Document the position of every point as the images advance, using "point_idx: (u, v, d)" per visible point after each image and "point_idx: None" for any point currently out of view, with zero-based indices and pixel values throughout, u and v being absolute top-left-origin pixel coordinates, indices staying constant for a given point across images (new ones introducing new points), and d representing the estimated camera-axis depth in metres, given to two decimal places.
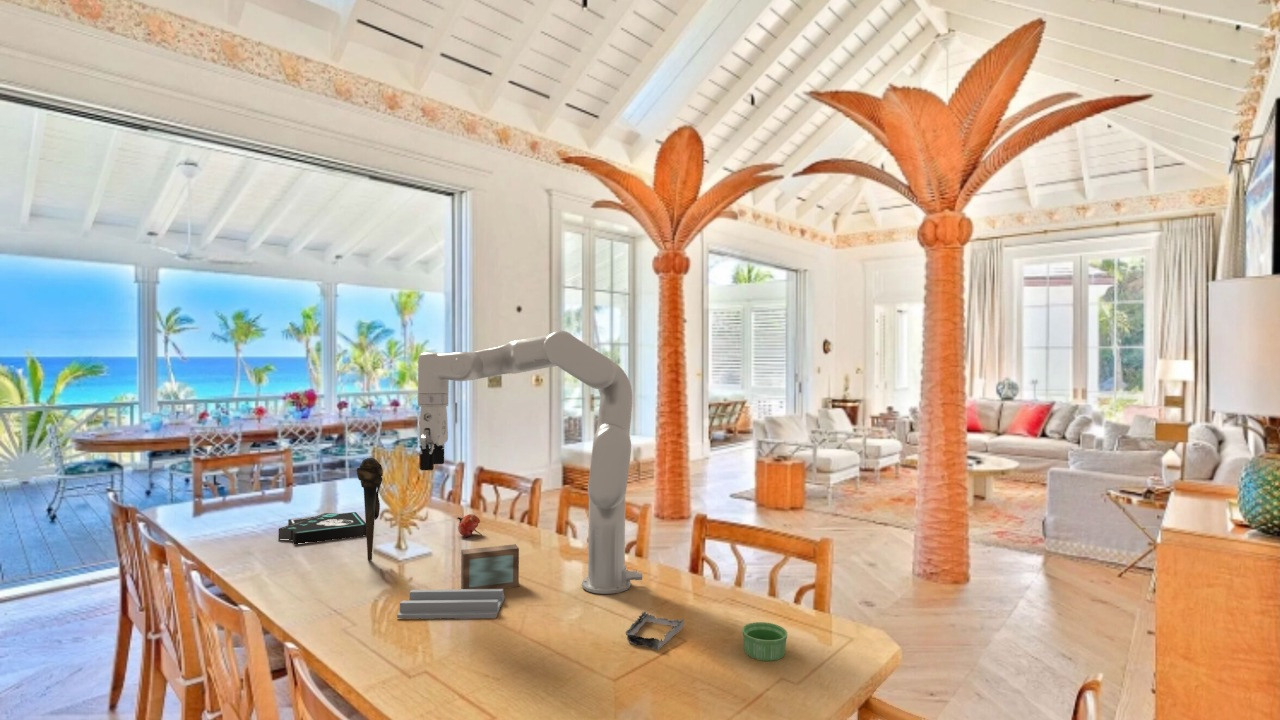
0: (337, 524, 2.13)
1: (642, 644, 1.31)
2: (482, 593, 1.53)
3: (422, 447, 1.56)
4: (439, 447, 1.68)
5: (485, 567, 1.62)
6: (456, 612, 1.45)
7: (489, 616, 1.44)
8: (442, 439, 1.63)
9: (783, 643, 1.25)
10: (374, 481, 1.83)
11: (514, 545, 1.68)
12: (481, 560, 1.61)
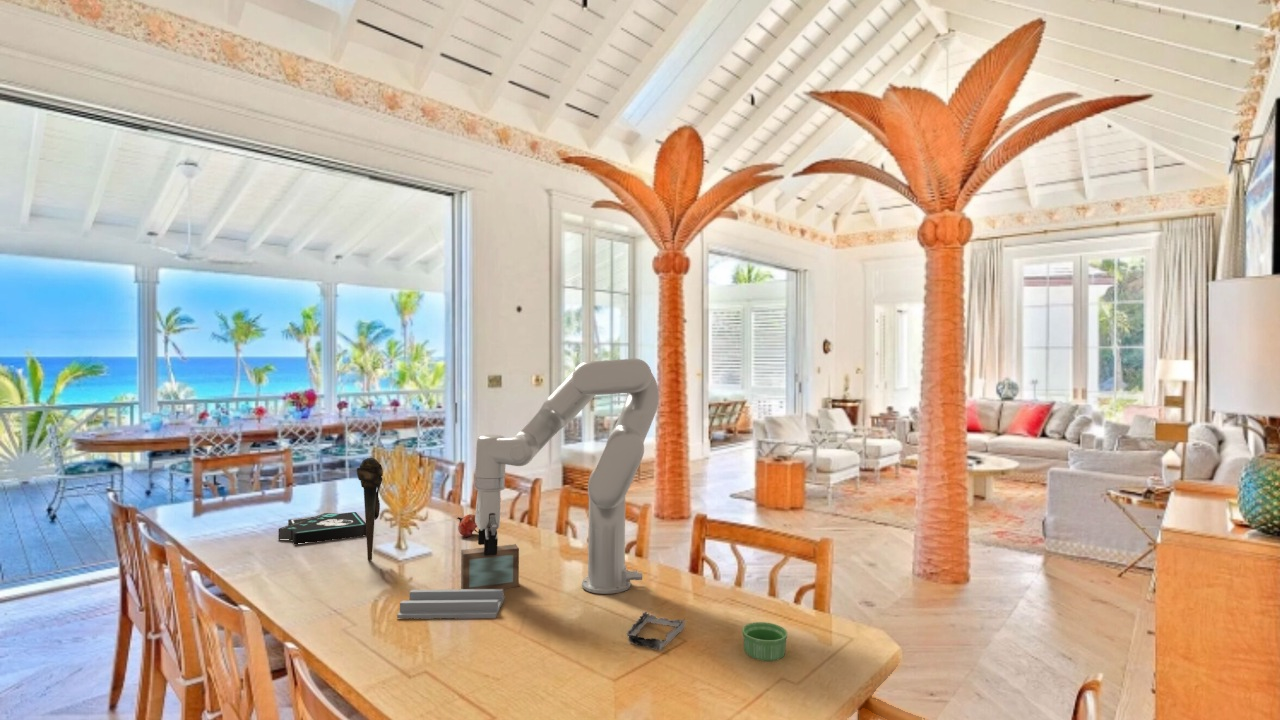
0: (337, 524, 2.13)
1: (643, 645, 1.31)
2: (482, 593, 1.53)
3: None
4: None
5: (485, 567, 1.62)
6: (456, 612, 1.45)
7: (489, 616, 1.44)
8: (476, 520, 1.64)
9: (783, 643, 1.25)
10: (374, 481, 1.83)
11: (514, 545, 1.68)
12: (481, 560, 1.61)
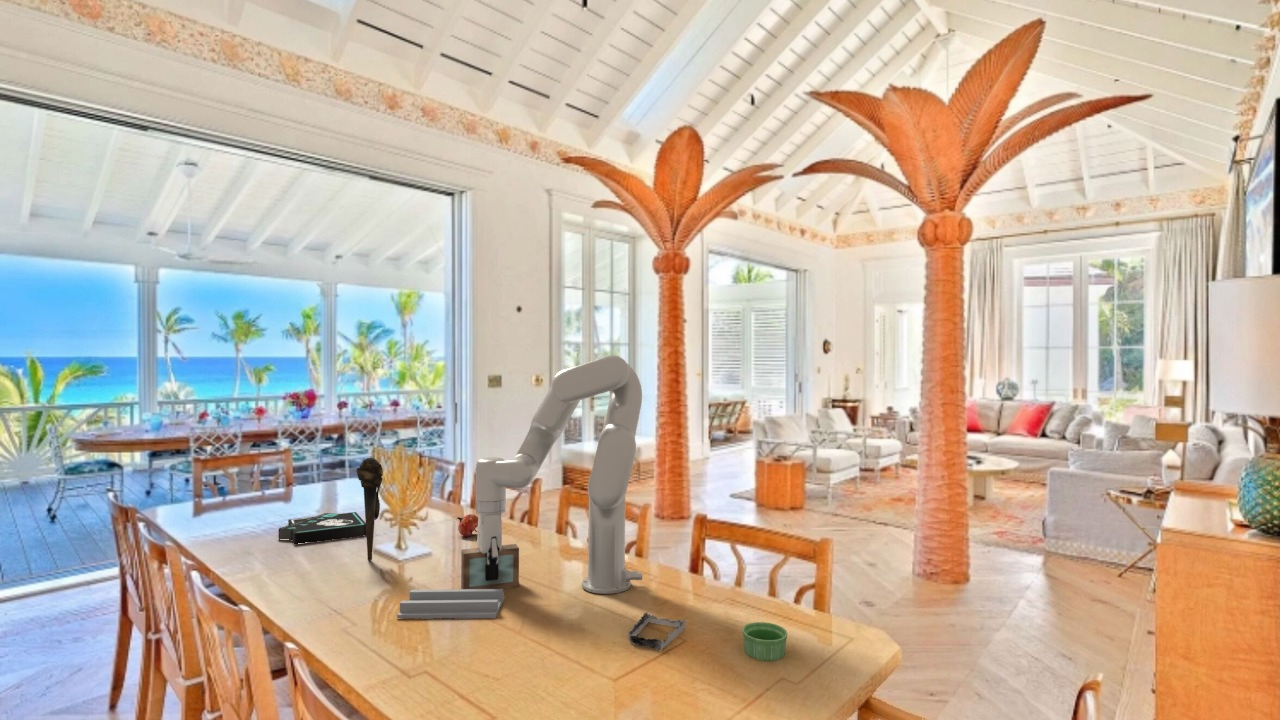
0: (337, 524, 2.13)
1: (645, 645, 1.30)
2: (482, 593, 1.53)
3: None
4: None
5: None
6: (456, 612, 1.45)
7: (489, 616, 1.44)
8: (478, 544, 1.64)
9: (783, 643, 1.25)
10: (374, 481, 1.83)
11: (514, 544, 1.68)
12: (481, 560, 1.61)
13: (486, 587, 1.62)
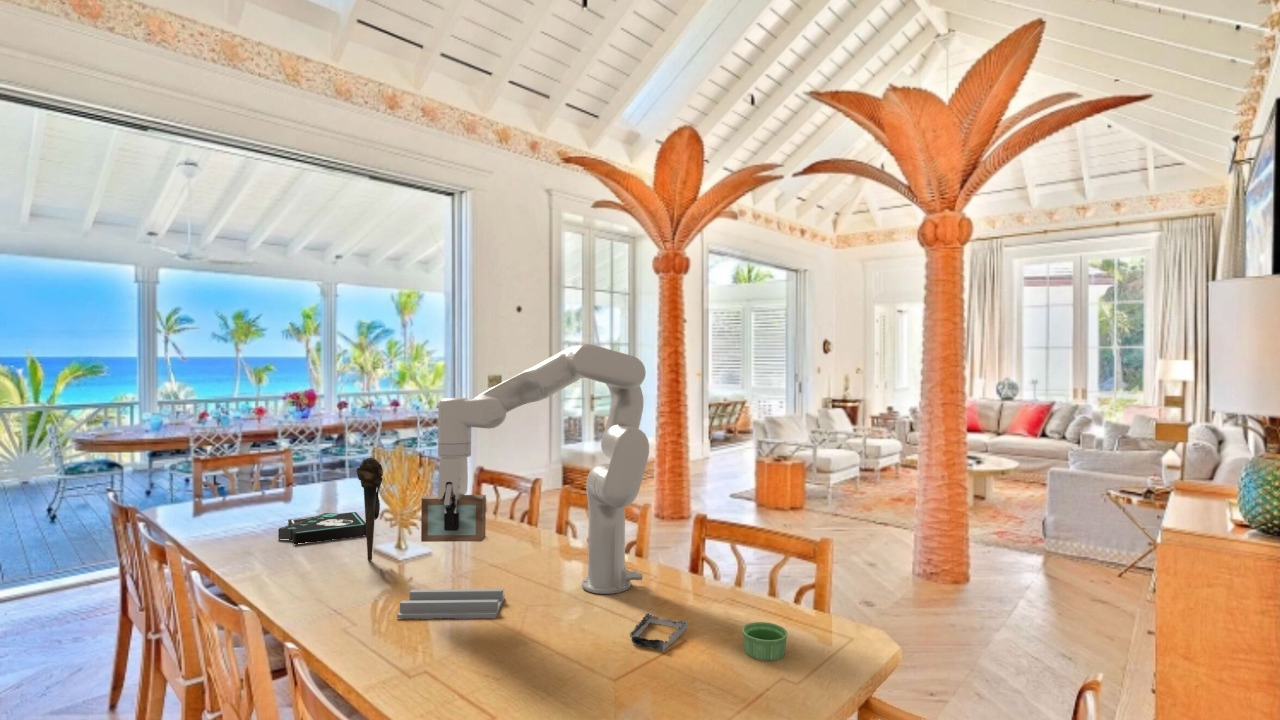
0: (337, 524, 2.13)
1: (647, 646, 1.30)
2: (482, 593, 1.53)
3: None
4: None
5: None
6: (456, 612, 1.45)
7: (489, 616, 1.44)
8: None
9: (783, 643, 1.25)
10: (374, 481, 1.83)
11: (482, 495, 1.52)
12: (440, 507, 1.48)
13: (446, 538, 1.48)
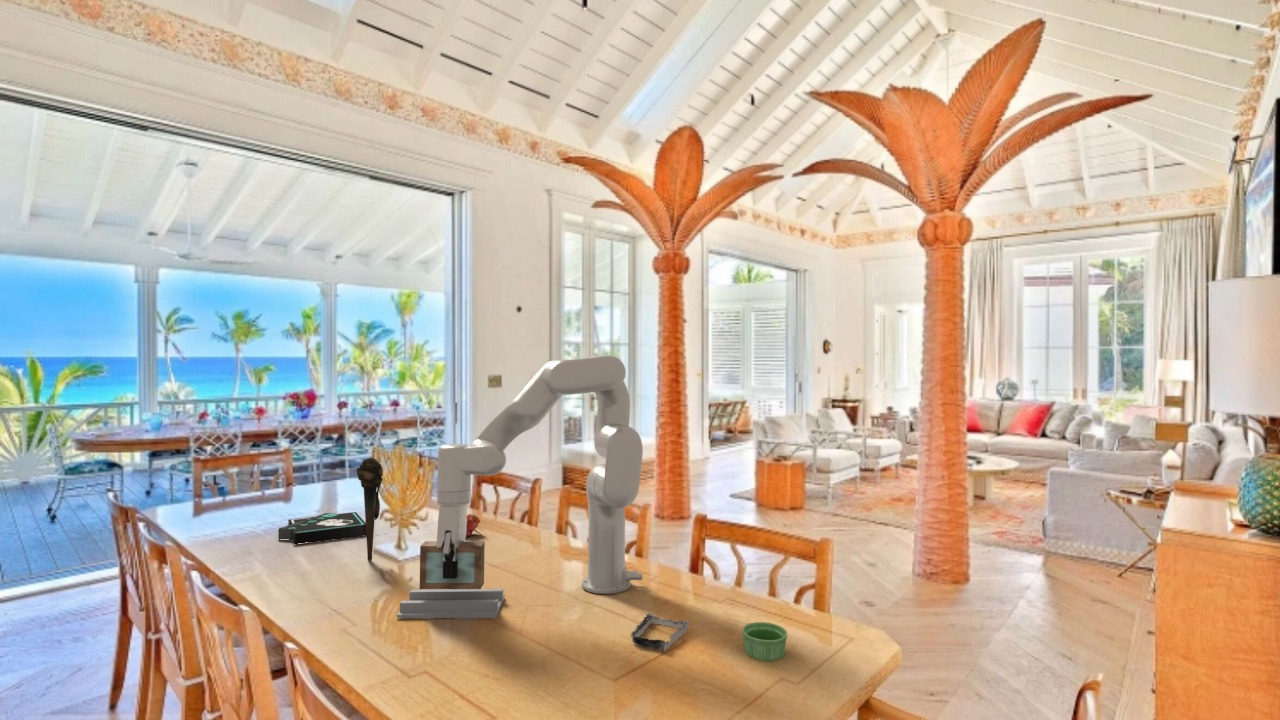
0: (337, 524, 2.13)
1: (648, 646, 1.30)
2: (482, 593, 1.53)
3: None
4: None
5: None
6: (456, 612, 1.45)
7: (489, 616, 1.44)
8: None
9: (783, 643, 1.25)
10: (374, 481, 1.83)
11: (481, 542, 1.51)
12: (439, 555, 1.48)
13: (444, 585, 1.48)
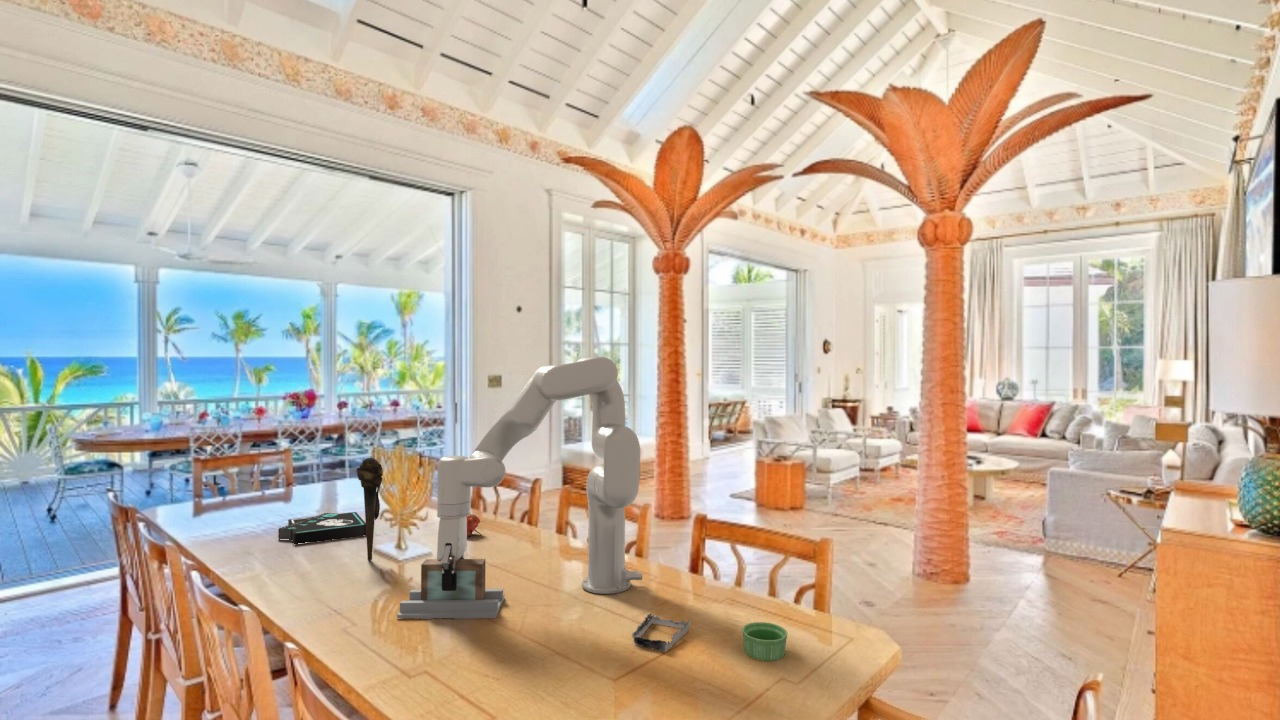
0: (337, 524, 2.13)
1: (649, 646, 1.30)
2: None
3: None
4: None
5: None
6: (456, 612, 1.45)
7: (489, 616, 1.44)
8: None
9: (783, 643, 1.25)
10: (374, 481, 1.83)
11: (482, 559, 1.51)
12: (440, 573, 1.48)
13: None
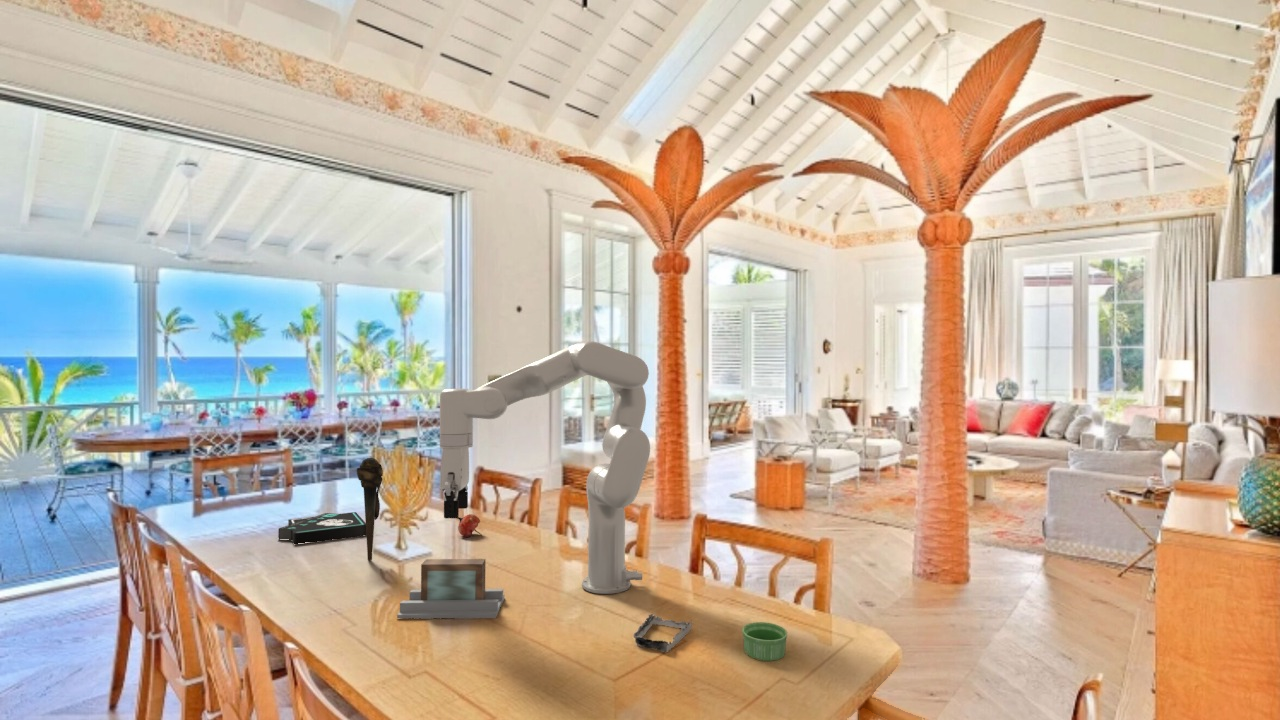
0: (337, 524, 2.13)
1: (650, 647, 1.29)
2: None
3: None
4: None
5: (444, 581, 1.48)
6: (456, 612, 1.45)
7: (489, 616, 1.44)
8: None
9: (783, 643, 1.25)
10: (374, 481, 1.83)
11: (482, 559, 1.51)
12: (440, 573, 1.48)
13: None
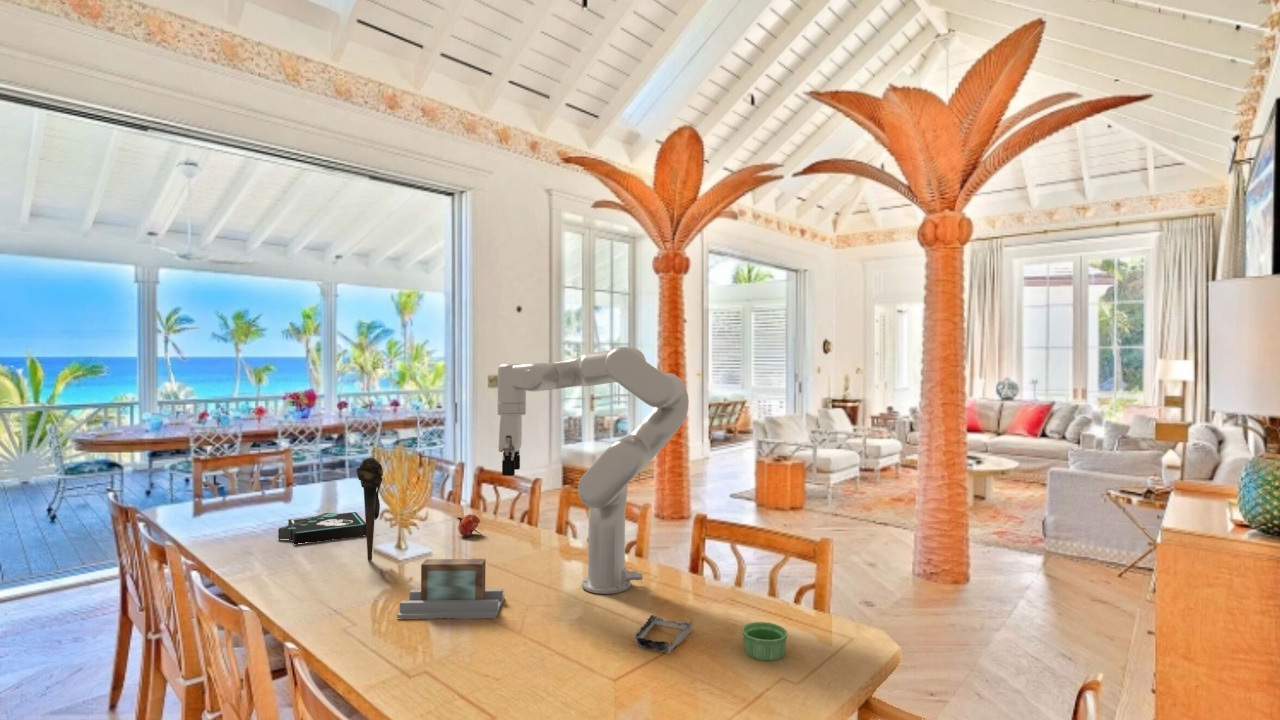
0: (337, 524, 2.13)
1: (652, 647, 1.29)
2: None
3: None
4: None
5: (444, 581, 1.48)
6: (456, 612, 1.45)
7: (489, 616, 1.44)
8: None
9: (783, 643, 1.25)
10: (374, 481, 1.83)
11: (482, 559, 1.51)
12: (440, 573, 1.48)
13: None
